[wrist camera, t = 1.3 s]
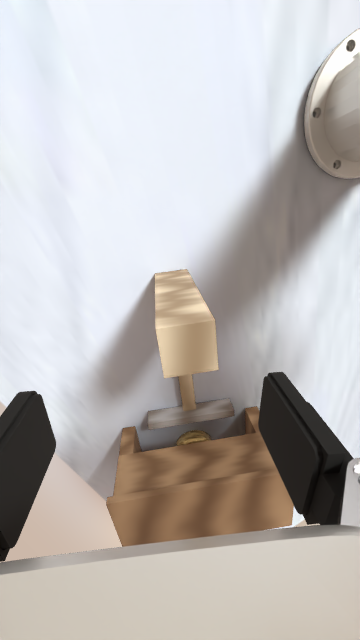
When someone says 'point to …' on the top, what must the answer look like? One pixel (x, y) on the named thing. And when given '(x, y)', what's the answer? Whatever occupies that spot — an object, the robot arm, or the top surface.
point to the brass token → (193, 437)
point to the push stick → (185, 348)
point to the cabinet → (197, 488)
